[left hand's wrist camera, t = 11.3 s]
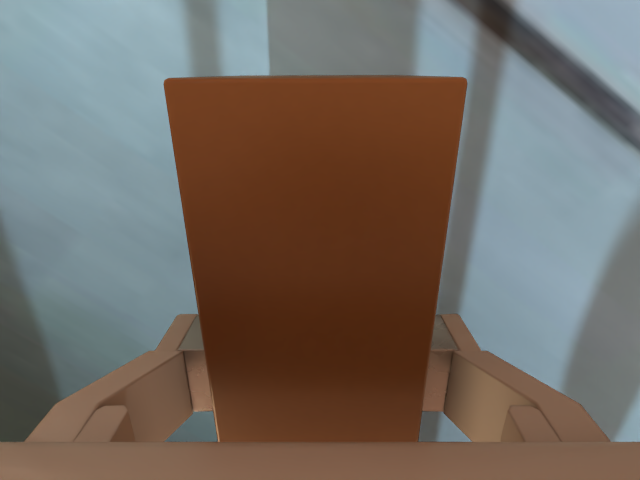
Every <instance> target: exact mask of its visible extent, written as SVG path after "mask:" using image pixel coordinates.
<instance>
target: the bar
mask: <svg viewBox="0 0 640 480" xmlns="http://www.w3.org/2000/svg"><path fill="white" fill-rule="evenodd" d="M164 90H165V96H166V103H167V110H168V116H169V123H170V129H171V136H172V143H173V149H174V156H175V162H176V169H177V176H178V182H179V189H180V195H181V202H182V208H183V215H184V222H185V228H186V235H187V241H188V248H189V255H190V261H191V268H192V274H193V281H194V287H195V294H196V301H197V307H198V314H199V320H200V327H201V334H202V340H203V347H204V353H205V360H206V367H207V373H208V380H209V386H210V393H211V399H212V406H213V413H214V419H215V426H216V432H217V439H218V442H418V438H419V431H420V424H421V417H422V409H423V402H424V395H425V388H426V380H427V373H428V366H429V358H430V351H431V344H432V337H433V329H434V322H435V315H436V308H437V300H438V293H439V286H440V279H441V271H442V264H443V257H444V250H445V242H446V235H447V228H448V220H449V213H450V206H451V199H452V191H453V184H454V177H455V170H456V162H457V155H458V148H459V141H460V133H461V126H462V119H463V112H464V104H465V97H466V90H467V80H466V79H465V78H463V77H441V76H408V75H277V76H216V77H185V78H168V79H166V80H164Z"/></svg>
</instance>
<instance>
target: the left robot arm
mask: <svg viewBox="0 0 640 480" xmlns="http://www.w3.org/2000/svg"><path fill="white" fill-rule="evenodd" d="M195 411H213V406H212V399H211V393H210V386H209V380H208V373H207V367H206V360H205V353H204V347H203V340H202V334H201V327H200V320H199V315H198V314H180V315H177V316H176V318H175V319H174V321H173V323H172V324H171V326H170V327H169V329H168V331H167V332H166V334H165V335H164V337H163V339H162V340H161V342H160V343H159V345H158V347H157V348H156V350H155V351H148V352H146V353H144V354H143V355H141V356H139V357H137V358H136V359H134V360H132V361H130V362H129V363H127V364H125V365H123V366H121V367H120V368H118V369H116V370H114V371H113V372H111V373H109V374H107V375H106V376H104V377H102V378H100V379H99V380H97V381H95V382H93V383H91V384H90V385H88V386H86V387H84V388H83V389H81V390H79V391H77V392H76V393H74V394H72V395H70V396H69V397H67V398H65V399H63V400H61V401H60V402H58V403H56V404H55V405H54V406H53V408H52V409H51V410H50V411H49V412H48V414H47V415H46V416H45V417H44V418H43V420H42V421H41V422H40V423H39V424H38V426H37V427H36V428H35V429H34V430H33V432H32V433H31V434H30V435H29V436H28V438H27V439H26V440H25V441H24V442H0V480H640V442H611V441H610V440H609V439H608V437H607V436H606V435H605V434H604V433H603V431H602V430H601V429H600V428H599V426H598V425H597V424H596V423H595V421H594V420H593V419H592V418H591V417H590V415H589V414H588V413H587V412H586V410H585V409H584V408H583V407H582V405H581V404H579V403H577V402H576V401H574V400H572V399H570V398H569V397H567V396H565V395H563V394H562V393H560V392H558V391H556V390H555V389H553V388H551V387H549V386H548V385H546V384H544V383H542V382H541V381H539V380H537V379H535V378H534V377H532V376H530V375H528V374H527V373H525V372H523V371H521V370H520V369H518V368H516V367H514V366H513V365H511V364H509V363H507V362H506V361H504V360H502V359H501V358H499V357H497V356H495V355H494V354H492V353H490V352H488V351H481V349H480V348H479V346H478V344H477V343H476V341H475V340H474V338H473V336H472V335H471V333H470V332H469V330H468V328H467V327H466V325H465V323H464V322H463V320H462V319H461V317H460V315H458V314H438V315H435V322H434V329H433V337H432V344H431V351H430V358H429V366H428V373H427V380H426V388H425V395H424V402H423V409H422V411H441V412H444V414H445V415H446V416H447V417H448V418H449V419H450V420H451V421H452V422H453V423H454V424H455V425H456V426H457V427H458V428H459V429H460V430H461V431H462V432H463V433H464V434H465V435H466V436H467V437H468V438H469V439H470V440H471V441H472V442H164V441H165V440H166V439H167V438H168V437H169V436H170V435H171V434H172V433H173V432H174V431H175V430H176V429H177V428H178V427H179V426H180V425H182V424H183V423H184V422H185V421H186V420H187V419H188V418H189V417H190V416H191V415H192V414H193V412H195Z"/></svg>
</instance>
